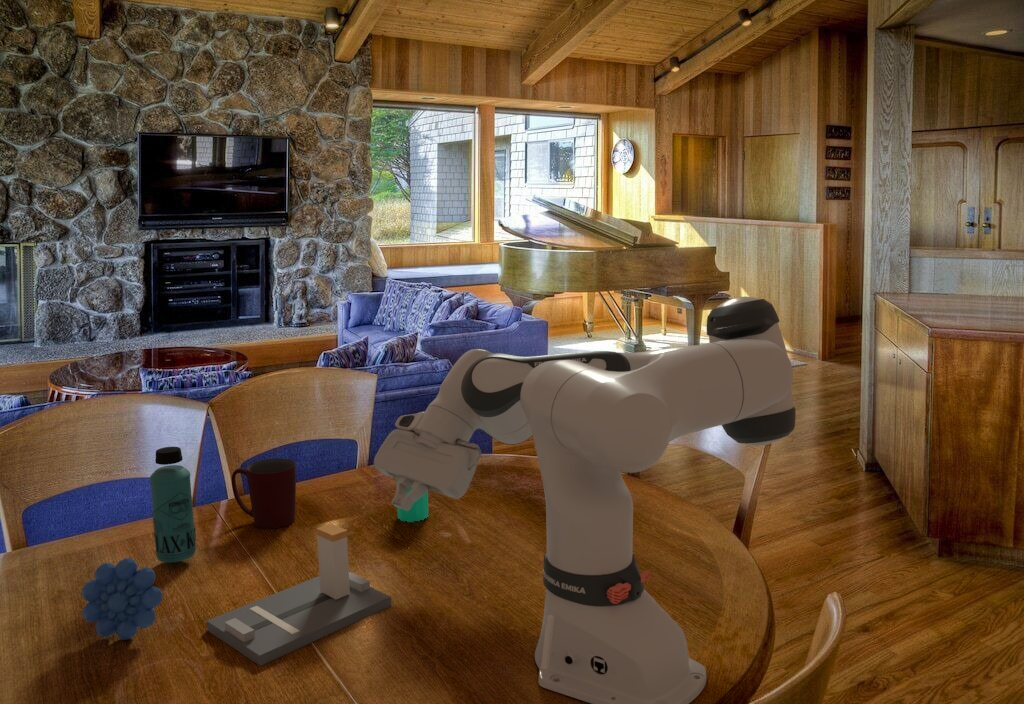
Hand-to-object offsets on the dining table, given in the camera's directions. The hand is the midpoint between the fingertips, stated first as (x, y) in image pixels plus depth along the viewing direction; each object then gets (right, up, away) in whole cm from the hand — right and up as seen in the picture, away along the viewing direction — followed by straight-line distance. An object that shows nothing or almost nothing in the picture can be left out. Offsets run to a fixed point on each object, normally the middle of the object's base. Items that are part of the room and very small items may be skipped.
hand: (399, 507), depth 137 cm
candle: (-1, -7, +26) cm, 27 cm away
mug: (-28, -7, +24) cm, 38 cm away
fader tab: (-9, -11, -9) cm, 17 cm away
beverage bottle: (-38, -11, +7) cm, 40 cm away
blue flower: (-36, -15, -17) cm, 42 cm away
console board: (-13, -14, -13) cm, 23 cm away
